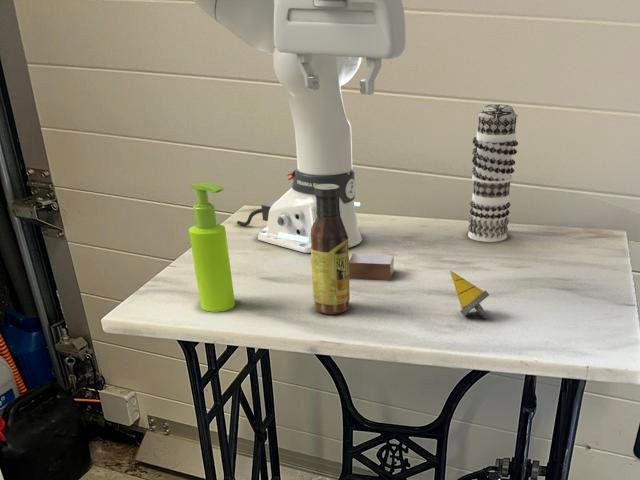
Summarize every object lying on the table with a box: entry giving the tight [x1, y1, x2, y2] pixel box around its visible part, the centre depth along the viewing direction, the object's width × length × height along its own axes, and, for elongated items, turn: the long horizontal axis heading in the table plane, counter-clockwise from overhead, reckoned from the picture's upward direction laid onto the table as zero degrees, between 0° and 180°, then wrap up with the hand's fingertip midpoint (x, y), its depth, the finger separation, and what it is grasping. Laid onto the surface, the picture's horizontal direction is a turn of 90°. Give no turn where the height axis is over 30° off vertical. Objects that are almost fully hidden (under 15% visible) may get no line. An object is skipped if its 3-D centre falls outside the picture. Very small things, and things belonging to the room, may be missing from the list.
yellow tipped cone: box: [450, 270, 490, 319], centre depth 122 cm, size 5×5×10 cm
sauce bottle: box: [310, 184, 351, 315], centre depth 120 cm, size 6×6×20 cm
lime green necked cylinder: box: [188, 181, 236, 313], centre depth 121 cm, size 6×7×20 cm
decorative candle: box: [467, 103, 519, 243], centre depth 151 cm, size 9×9×25 cm
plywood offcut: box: [349, 253, 395, 281], centre depth 139 cm, size 8×5×3 cm, turn 83°
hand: (339, 91), depth 108 cm, fingers open, 8 cm apart
